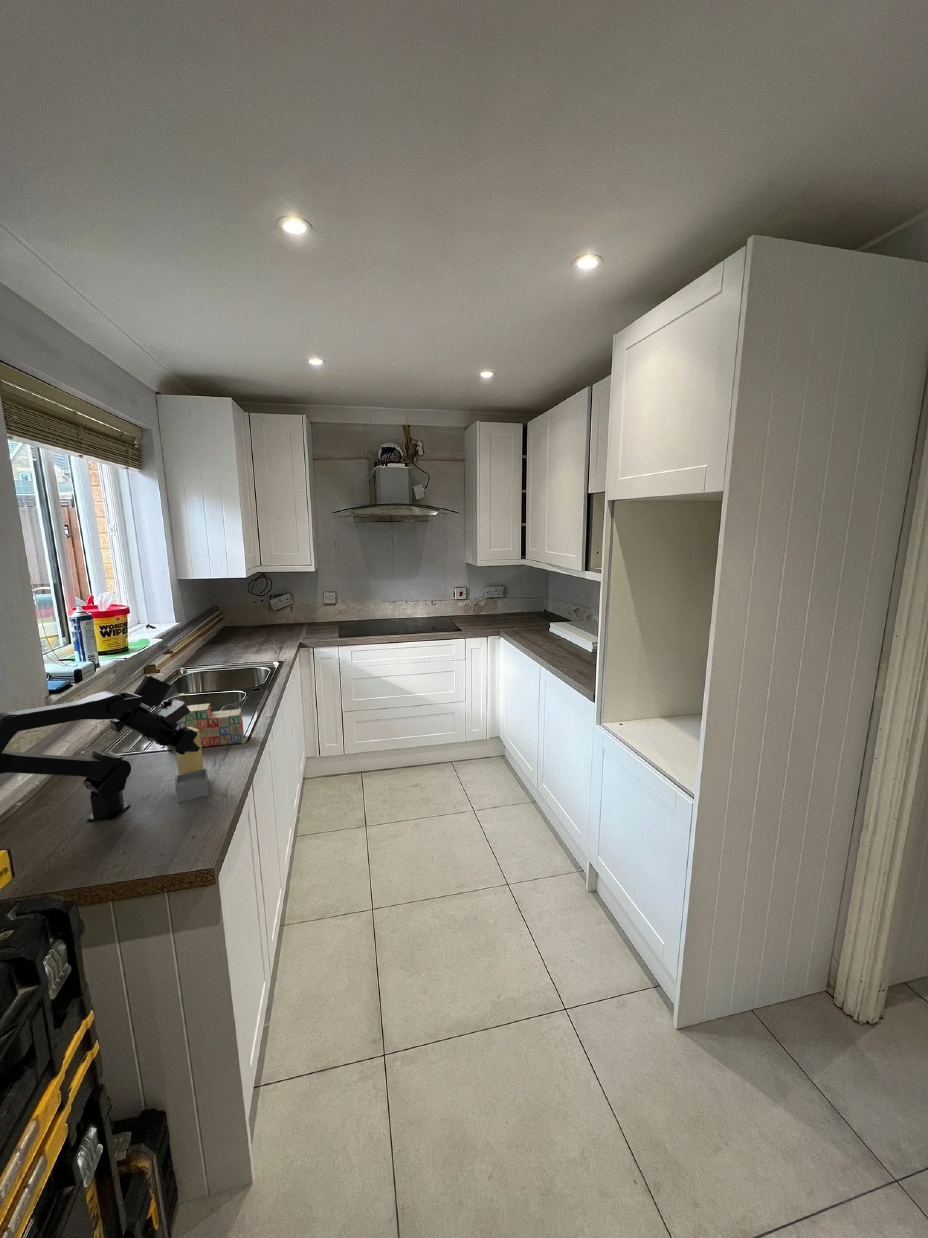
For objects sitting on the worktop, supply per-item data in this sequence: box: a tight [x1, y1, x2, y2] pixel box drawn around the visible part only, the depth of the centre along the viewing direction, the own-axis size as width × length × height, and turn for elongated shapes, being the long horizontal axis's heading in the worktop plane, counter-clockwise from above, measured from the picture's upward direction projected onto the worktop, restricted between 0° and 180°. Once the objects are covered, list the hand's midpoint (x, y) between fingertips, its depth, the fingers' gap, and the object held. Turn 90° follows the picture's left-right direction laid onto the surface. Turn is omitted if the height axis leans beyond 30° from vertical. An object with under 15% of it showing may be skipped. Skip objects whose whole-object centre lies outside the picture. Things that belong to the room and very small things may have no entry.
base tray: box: [174, 768, 210, 804], centre depth 128 cm, size 7×7×4 cm
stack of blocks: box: [166, 703, 245, 751], centre depth 159 cm, size 21×6×12 cm, turn 106°
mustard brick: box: [175, 727, 205, 775], centre depth 135 cm, size 4×4×12 cm
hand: (193, 747), depth 136 cm, fingers closed on mustard brick, 4 cm apart
